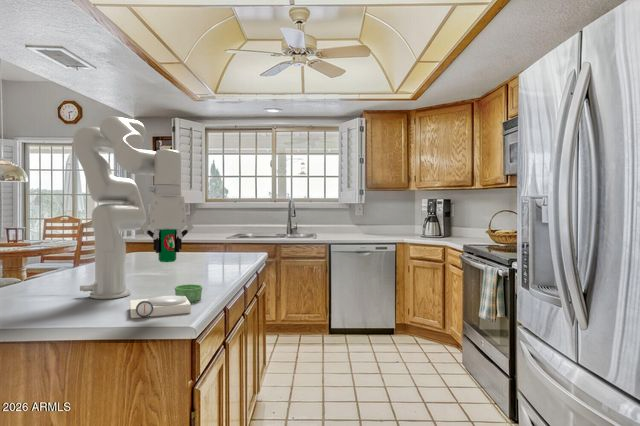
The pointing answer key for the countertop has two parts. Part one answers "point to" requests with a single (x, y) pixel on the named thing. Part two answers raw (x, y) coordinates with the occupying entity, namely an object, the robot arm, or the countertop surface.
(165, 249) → the soda can
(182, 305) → the scale
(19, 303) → the countertop surface
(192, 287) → the ramekin
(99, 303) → the countertop surface
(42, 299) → the countertop surface
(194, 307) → the countertop surface
